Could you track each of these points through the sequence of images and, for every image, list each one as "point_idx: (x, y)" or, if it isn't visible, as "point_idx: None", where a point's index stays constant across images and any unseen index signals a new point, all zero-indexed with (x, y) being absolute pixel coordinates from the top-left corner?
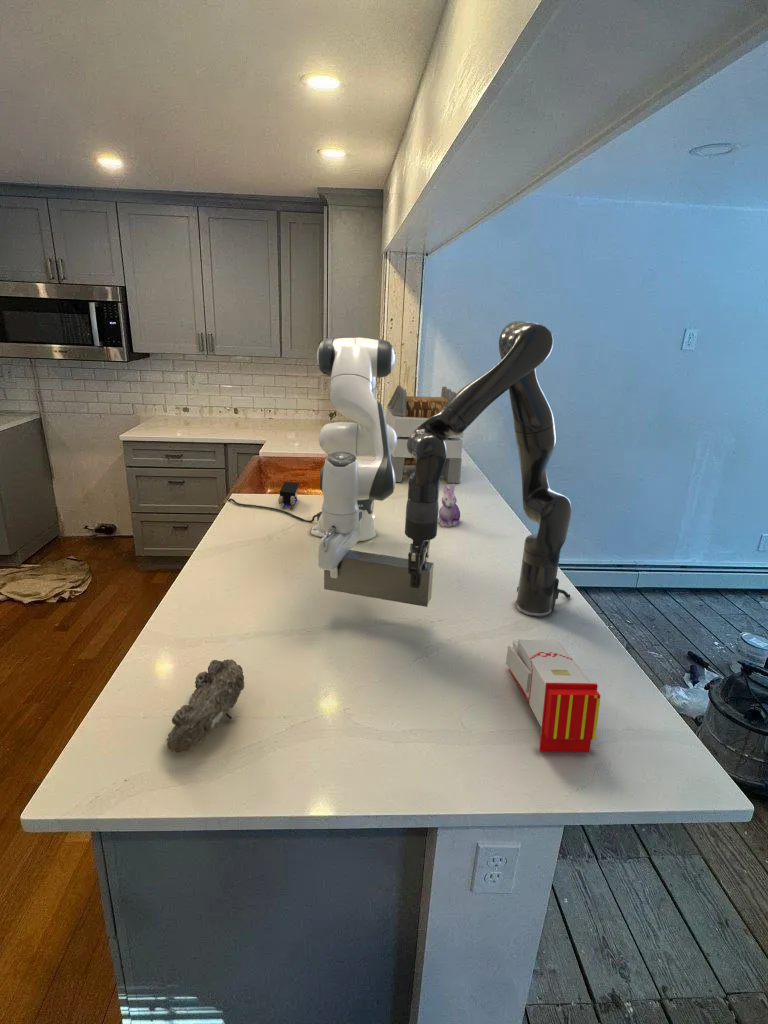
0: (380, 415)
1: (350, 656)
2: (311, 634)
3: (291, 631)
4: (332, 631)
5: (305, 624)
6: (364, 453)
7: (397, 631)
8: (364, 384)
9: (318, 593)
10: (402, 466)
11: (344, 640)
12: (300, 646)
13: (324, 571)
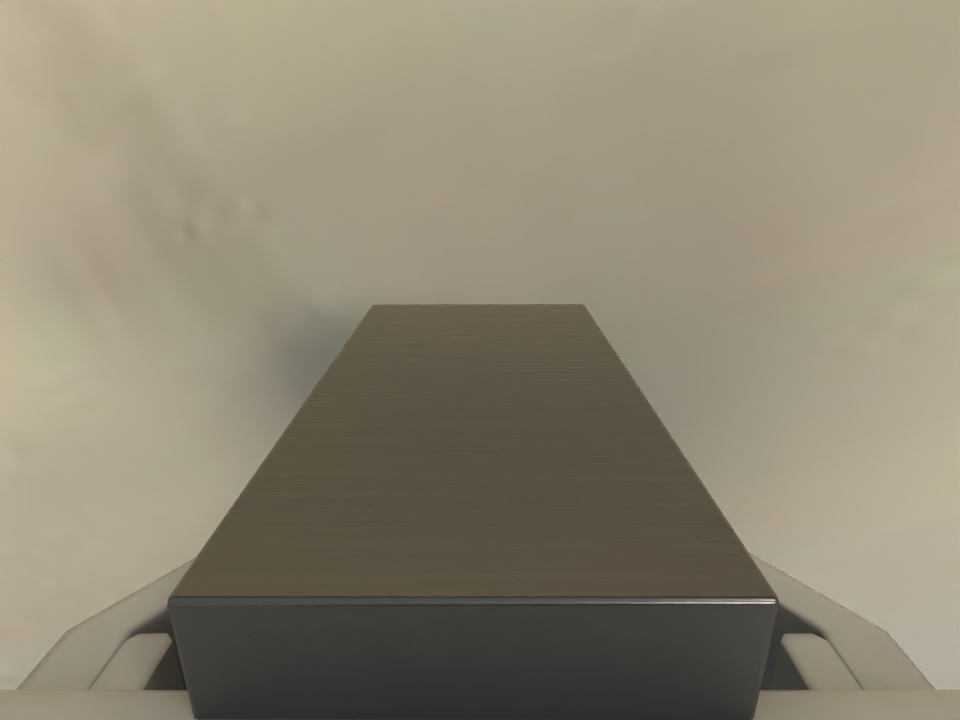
0: None
1: (93, 529)
2: (166, 260)
3: (125, 110)
4: (262, 368)
5: (255, 169)
6: None
7: None
8: None
9: (732, 70)
10: None
11: (210, 460)
12: (10, 249)
13: (317, 392)
